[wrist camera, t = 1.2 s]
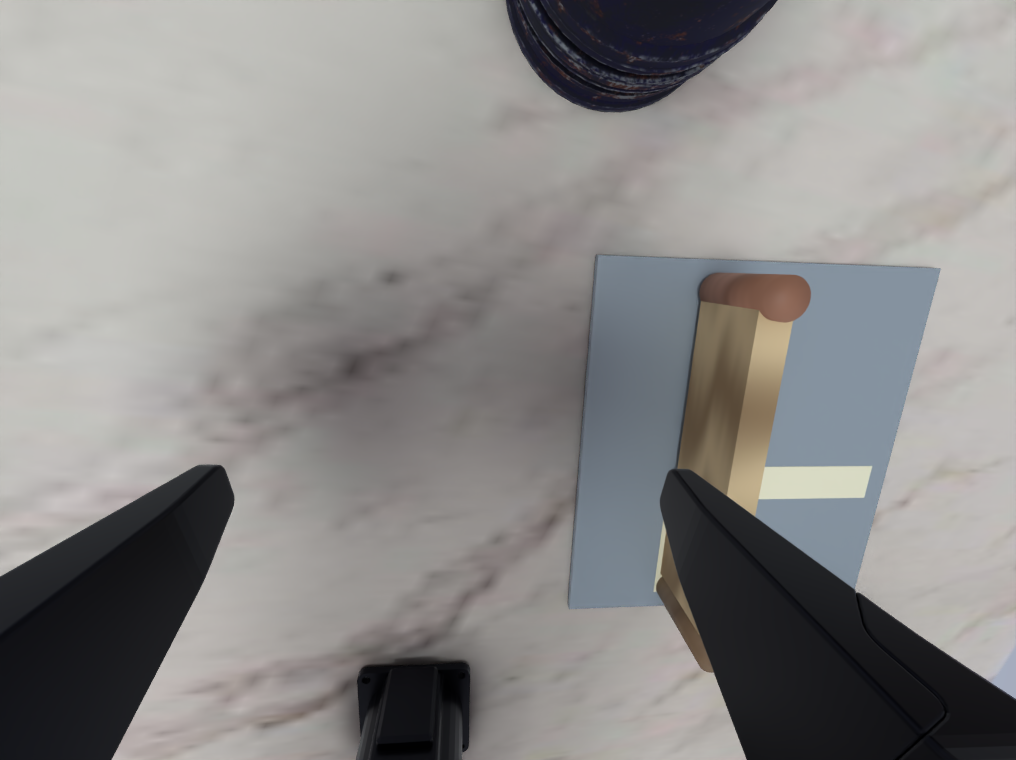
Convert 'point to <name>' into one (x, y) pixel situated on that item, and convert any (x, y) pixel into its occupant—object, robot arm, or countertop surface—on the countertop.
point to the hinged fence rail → (738, 378)
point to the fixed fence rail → (680, 607)
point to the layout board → (796, 428)
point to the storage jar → (627, 44)
